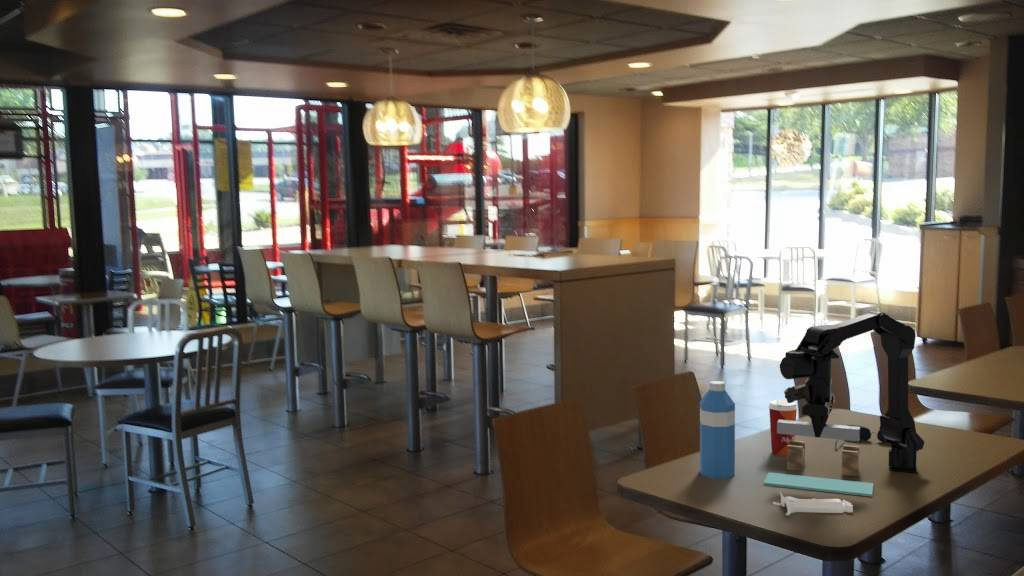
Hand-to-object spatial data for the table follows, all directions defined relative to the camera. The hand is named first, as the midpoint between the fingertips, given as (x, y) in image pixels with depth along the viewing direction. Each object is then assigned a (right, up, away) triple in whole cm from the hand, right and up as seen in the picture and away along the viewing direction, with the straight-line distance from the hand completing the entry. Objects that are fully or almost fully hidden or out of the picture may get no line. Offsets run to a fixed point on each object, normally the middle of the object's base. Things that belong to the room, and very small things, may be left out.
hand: (818, 435), depth 225 cm
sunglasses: (+26, -10, +32) cm, 42 cm away
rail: (0, 0, 0) cm, 0 cm away
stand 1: (-1, -11, +15) cm, 18 cm away
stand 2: (+12, -11, +9) cm, 19 cm away
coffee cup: (-1, -10, +28) cm, 30 cm away
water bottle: (-24, -12, +11) cm, 29 cm away
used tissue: (-8, -15, -19) cm, 26 cm away
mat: (0, -13, -1) cm, 13 cm away
